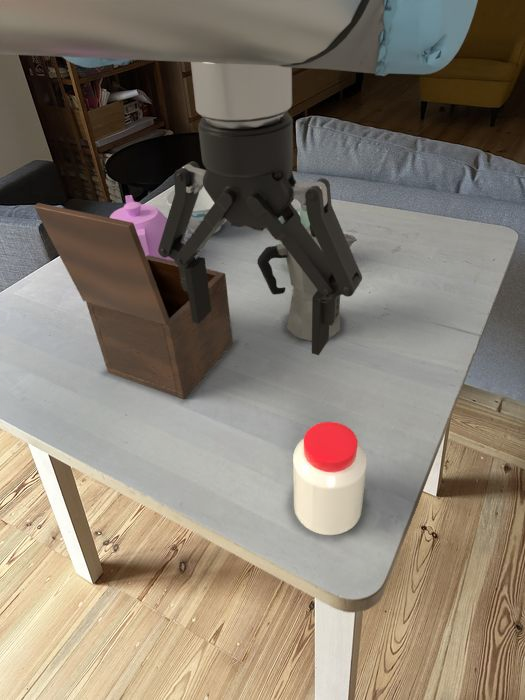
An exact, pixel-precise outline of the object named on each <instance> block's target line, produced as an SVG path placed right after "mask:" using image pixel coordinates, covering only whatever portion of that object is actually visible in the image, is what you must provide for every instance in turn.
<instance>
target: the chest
mask: <svg viewBox="0 0 525 700" xmlns="http://www.w3.org/2000/svg"><path fill="white" fill-rule="evenodd" d="M146 258H147V261H148V263H149V266H150V269H151V271H152V274H153V277H154V279H155V282H156V285H157V287H158V290H159V293H160V295H161V298H162V301H163V304H164V306H165V309H166V312H167V314H168V317H169V320H170V322H169V323H168V324H167V325H164V324H161V323H157V322H154V321H151V320H147V319H144V318H140V317H137V316H134V315H130V314H127V313H123V312H120V311H117V310H113V309H110V308H106V307H103V306H99V305H96V304H93V303H89V302H86V301H85V303H86V307H87V309H88V314H89V316H90V320H91V322H92V323H91V324H92V326H93V329H94V332H95V336H96V338H97V342H98V345H99V348H100V351H101V354H102V359H103V361H104V364H105V367H106V370H107V373H108V374H111V375H113V376H116V377H119V378H122V379H126V380H128V381H131V382H133V383H136V384H140V385H143V386H145V387H148V388H151V389H154V390H156V391H158V392H159V391H160V392H162V393H165V394H168V395H170V396H173V397H177V398H179V399H182V400H185V399H186V398H187V397H188V395H190V393H191V392H192V391H193V390H194V389H195V388H196V386H198V384H199V383H200V382H201V381H202V379H203V378H204V377H205V376H206V375H207V374H208V373H209V371H210V370H211V369H212V368H213V367H214V366H215V365H216V364H217V363H218V361H219V360H220V359H221V358H222V357H223V356H224V354H225V353H226V352H227V351H228V350H229V349H230V347H231V346H232V345H233V344H234V342H233V341H234V340H233V334H232V333H233V331H232V323H231V315H230V305H229V304H230V303H229V295H228V286H227V277H226V273H225V272H221V271H219V270H218V271H217V270H213V269H209V268H206V271H207V279H208V287H209V295H210V303H211V310H212V311H211V312H210V313H209V314H208V315H207V316H206V317H205V318H204V319H203V320H202V321H201V322H200V323H199V324H197V323H193V321H192V315H191V309H190V302H189V296H188V292H187V291H184V290H183V288H182V285H181V279H180V273H179V267H178V265H177V264H176V263H175V261H171V260H166V259H162V258H158V257H154V256H149V255H147V256H146Z"/></svg>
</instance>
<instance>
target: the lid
mask: <svg viewBox="0 0 525 700" xmlns="http://www.w3.org/2000/svg"><path fill="white" fill-rule="evenodd" d="M33 208H34V210H35V212H36V214H37V216H38V217H39V220H40V222H41V223H42V225H43V227H44V229H45V231H46V233H47V235H48V237H49V238H50V240H51V242H52V244H53V247H54V248H55V250H56V252H57V254H58V255H59V257H60V259H61V261H62V263H63V265H64V267H65V269H66V271H67V273H68V274H69V276H70V278H71V280H72V282H73V284H74V286H75V288H76V290H77V292H78V294H79V295H80V297H81V299H82V301H83V302H85V303H86V302H89V303H93V304H96V305H99V306H103V307H106V308H110V309H113V310H117V311H120V312H123V313H127V314H130V315H134V316H137V317H140V318H144V319H147V320H151V321H154V322H157V323H161V324H164V325H167V324H168V323H169V322H170V320H169V317H168V314H167V312H166V309H165V306H164V304H163V301H162V298H161V295H160V293H159V290H158V287H157V285H156V282H155V279H154V277H153V274H152V271H151V269H150V266H149V263H148V261H147V258H146V255H145V253H144V250H143V247H142V245H141V242H140V239H139V237H138V234H137V231H136V229H135V226H134V223H132V222H127V221H122V220H118V219H113V218H110V217H107V216H104V215H98V214H93V213H89V212H85V211H84V212H83V211H79V210H74V209H70V208H65V207H60V206H54V205H51V204H46V203H41V202H37V203H36V204H35V205H34V206H33Z"/></svg>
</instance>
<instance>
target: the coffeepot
mask: <svg viewBox="0 0 525 700" xmlns="http://www.w3.org/2000/svg"><path fill="white" fill-rule="evenodd" d="M309 227H310V229H306V230H307V231H308V233H309V234H310V235H311V237H312V238H313V239H314V241H315V242H316V243H317V245H318V246H319V247H320V245H319V243H318V241H317V238H316V236H315V234H314V232H313V230H312V227H311V225H310V226H309ZM344 235H345V238H346V240H347V242H348V245H349V247H350V248H351V247H352V245H353V244H354V243H355V242H357V238H356V237H355V236H354V235H352V234H348V233H344ZM320 249H321V247H320ZM321 250H322V249H321ZM282 258H286V259H287V265H288V268H287V269H288V275H289V280H290V285H291V286H292V293H291V298H290V306H289V311H288V319H287V326H286V330H287V331H288V332H289V333H291V334H292V335H293V336H294V337H296V338H297V339H299V340H300V339H301V340H304V341H310V342H312V297H313V296H314V294H315V293H316V292H317V288H316V287H315V286H314V284H313V283H312V282H311V280H310V279H309V278H308V276H307V275H306V274H305V273H304V271H303V270H302V269H301V267H300V266H299V265H298V263H297V262H296V261H295V259H294V258H293V257H292V255H291V254H290V253H289V251H288V250H287V249H286V248H285V246H284V245H283V244H279V243H278V244H275V245H271V246H266V247H265V249H264V250H263V251H262V252H261V254H260V255H259V256H258V258H257V266H258V268H259V270H260V271H261V274H262V276H263V278H264V280H265V282H266V284H267V286H268V289H269V291H270V293H271V294H272V295H281V294H282V295H283V294H284V293H285V292H286V287H285V286H283V287H278V286H277V285H278V284H277V278H276V277H275V275H274V273H273V268H272V265H271V264H270V261H271V260H272V259H282ZM340 331H341V313H340V312H339V315H338V317H337V318H336V320H335V322H334V323H333V325H332V326H331V325H329V339H330V338H332V337H334V336H335V335H336V334H337V333H339V332H340Z"/></svg>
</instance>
